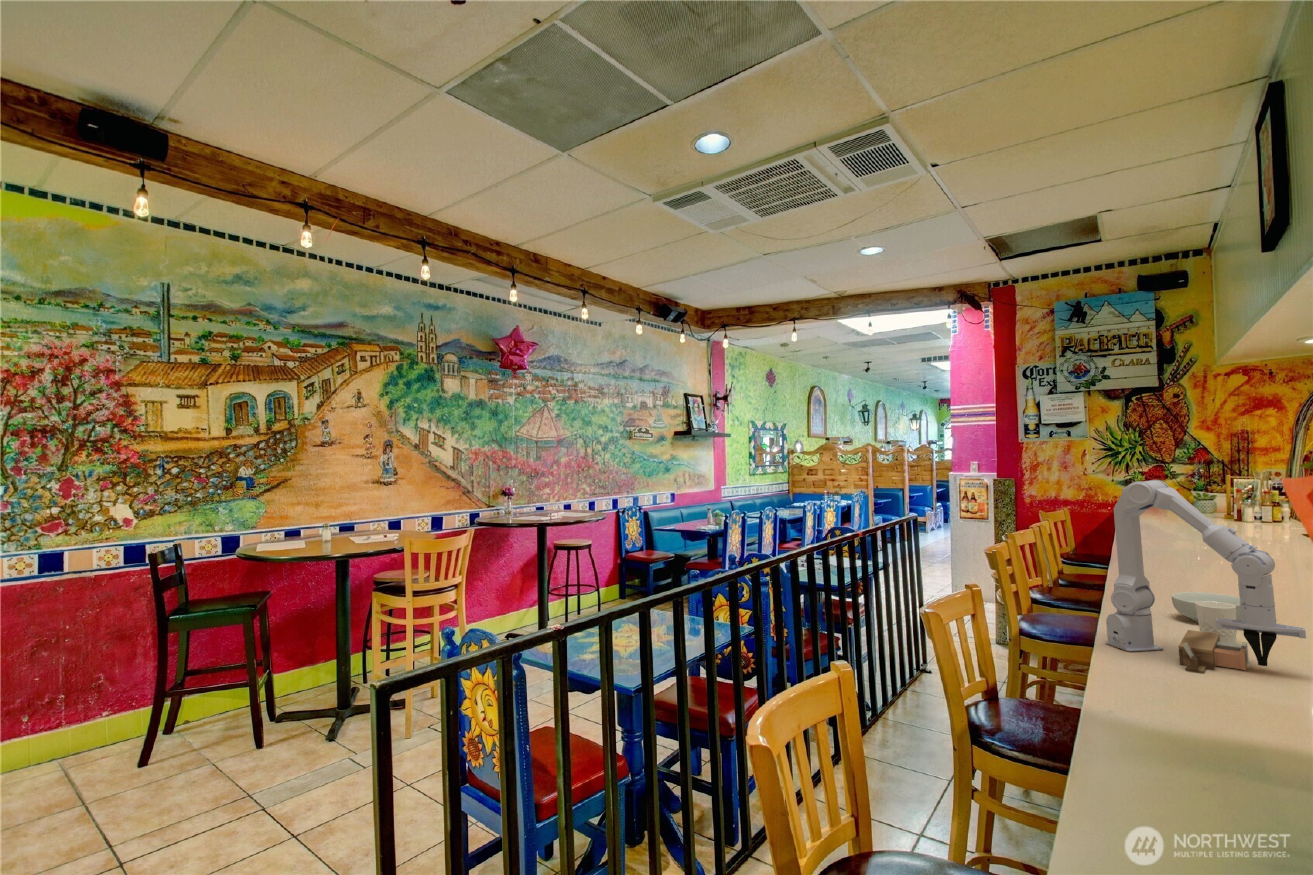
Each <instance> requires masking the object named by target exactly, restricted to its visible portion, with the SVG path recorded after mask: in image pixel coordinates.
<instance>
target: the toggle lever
mask: <svg viewBox="0 0 1313 875" xmlns="http://www.w3.org/2000/svg"><path fill="white" fill-rule="evenodd" d="M1182 645H1183V647H1184V648H1185V650H1186V652H1187V653H1188V655H1189V656H1190V658H1194V659H1197V662H1198V660H1199V659H1198V658H1197V657H1196V656H1195V654H1194V653H1193V651H1192V650H1191V648H1190V647H1189V645H1188V643H1183V644H1182Z"/></svg>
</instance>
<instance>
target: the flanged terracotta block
mask: <svg viewBox="0 0 1313 875" xmlns="http://www.w3.org/2000/svg"><path fill="white" fill-rule="evenodd" d="M1214 659H1215V667H1224V668H1231V669H1236V670H1237V669H1238V670H1242V671H1247V666H1248V663H1247V660H1246V650H1245V649H1240V651H1233V650H1225V649H1218V648H1214Z"/></svg>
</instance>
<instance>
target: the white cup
mask: <svg viewBox="0 0 1313 875" xmlns="http://www.w3.org/2000/svg"><path fill="white" fill-rule="evenodd" d="M1196 610H1197V617H1198V622H1197V623H1198V627H1199V631H1202V632H1210V633H1218V634H1220V642H1226V643H1234V644H1237V631H1238V630H1233V629H1225V628H1223V629H1219V628H1217V627H1216V619H1230V620H1236V606H1235V605H1232V604H1228V603H1221V602H1209V601H1203V602H1196Z"/></svg>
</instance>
